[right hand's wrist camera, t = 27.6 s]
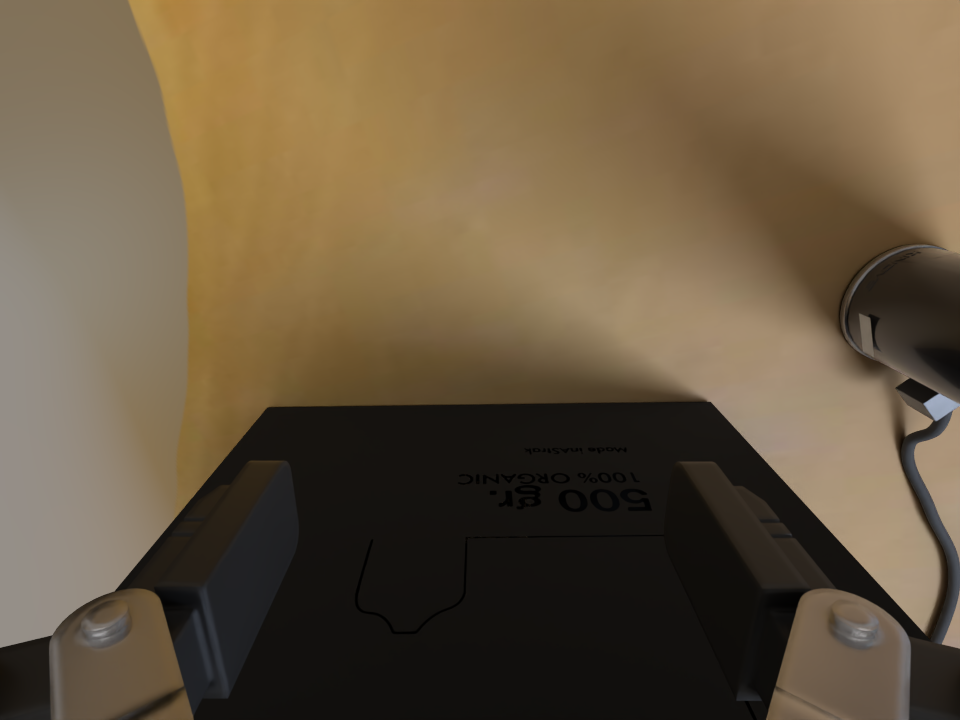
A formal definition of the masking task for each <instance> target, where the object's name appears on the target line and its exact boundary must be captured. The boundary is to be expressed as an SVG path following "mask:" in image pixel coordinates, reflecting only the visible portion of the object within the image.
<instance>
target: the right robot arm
mask: <svg viewBox="0 0 960 720" xmlns="http://www.w3.org/2000/svg"><path fill="white" fill-rule="evenodd" d="M840 323H841V328H842V332H843V334H844V337H845V339H846V340H847V342H848V343H849V344H850V345H851V346H852V347H853V348H854V349H855V350H856V351H858V352H859V353H861V354H863V355H864V356H866V357H868V358H871V359H873V360H876V361H879V362H881V363H882V364H884V365H886V366H888V367H890V368H892V369H894V370H896V371H897V372H899V373H901V374H903V375H905V376H907V377H909V379H908V380H906V381H905V382H903V383H902V384H900V385H899V386H898V387H896V390H897V391H898V393H899V394H900V395H901V397H902V398H903V399H904V401H905V402H906V404H907V405H908V406H910V407H912V408H913V409H915V410H917V411H919V412H920V413H922V414H924V415H925V416H927V417H929V418H930V419H932V420H934V421H933V422H932V424H931V425H930V426H929V427H928V428H926V429H924V430H920V431H917V432H914V433H911V434H909V435H908V436H906V437H905V439H904V441H903V444H902V449H901V460H902V464H903V467H904V470H905V472H906V475H907V477H908V479H909V481H910V483H911V485H912V487H913V489H914V490H915V492H916V494H917V496H918V498H919V500H920V502H921V505H922V507H923V510H924V512H925V515H926V517H927V519H928V521H929V523H930V525H931V527H932V529H933V531H934V533H935V534H936V536H937V538H938V540H939V541H940V543H941V545H942V547H943V550H944V552H945V556H946V559H947V565H948V588H947V594H946V598H945V602H944V605H943V608H942V611H941V614H940V616H939V619H938V622H937V624H936V627H935V629H934V632H933V634H932V636H931V638H930V640H931V641H932V642H929V641H925V640H921V639H917V638H913V637H909V636H908V635H907V634H906V632H905V631H904V629H903V628H902V626H901V625H900V624H899V623H898V622H897V621H896V620H895V619H894V618H893V617H892V616H891V615H890V614H888V613H887V612H886V611H884V610H883V609H882V608H880V607H878V606H877V605H875V604H874V603H872V602H870V601H868V600H866V599H864V598H862V597H859V596H857V595H854V594H851V593H848V592H845V591H841V590H837V589H836V588H835V586H834V585H833V584H832V583H831V582H830V580H829V579H828V578H827V577H826V575H825V574H824V573H823V572H822V570H821V569H820V568H819V567H818V566H817V564H816V563H815V562H814V561H813V559H812V558H811V557H810V556H809V555H808V553H807V552H806V551H805V550H804V548H803V547H802V546H801V545H800V544H799V542H798V541H797V540H796V539H795V538H792V534H791V533H790V531H789V530H788V529H787V528H786V526H785V525H784V524H783V523H780V519H779V518H778V517H777V515H776V514H775V513H774V512H773V510H772V509H771V508H770V507H769V506H768V504H767V503H766V502H765V501H764V500H762V499H761V498H759V497H758V496H756V495H755V494H753V493H752V492H750V491H749V490H748V489H746V488H745V487H743V486H733V485H732V484H731V482H730V481H729V480H728V478H727V477H726V476H725V474H724V473H723V472H722V470H721V469H720V468H719V466H718V465H717V464H716V463H714V462H676V463H675V464H674V466H673V468H672V472H671V479H670V486H669V492H668V499H667V506H666V513H665V520H664V540H665V546H666V550H667V553H668V556H669V558H670V560H671V562H672V564H673V566H674V569H675V571H676V573H677V575H678V577H679V579H680V581H681V584H682V586H683V588H684V590H685V592H686V594H687V596H688V599H689V601H690V603H691V605H692V607H693V609H694V611H695V614H696V616H697V618H698V620H699V622H700V624H701V626H702V629H703V631H704V633H705V635H706V637H707V639H708V641H709V644H710V646H711V648H712V650H713V652H714V654H715V656H716V659H717V661H718V663H719V665H720V667H721V669H722V671H723V674H724V676H725V678H726V680H727V682H728V684H729V686H730V688H731V691H732V693H733V695H734V697H735V699H736V701H763V703H764V705H765V707H766V709H767V711H768V714H767V718H766V720H960V649H959V648H954V647H950V646H946V645H942V642H943V640H944V637H945V635H946V633H947V630H948V628H949V625H950V622H951V620H952V617H953V614H954V611H955V608H956V604H957V601H958V596H959V590H960V563H959V558H958V554H957V551H956V548H955V546H954V544H953V542H952V540H951V538H950V536H949V534H948V533H947V531H946V529H945V527H944V525H943V523H942V521H941V519H940V517H939V515H938V512H937V510H936V507H935V505H934V502H933V500H932V498H931V496H930V494H929V492H928V490H927V488H926V486H925V484H924V482H923V480H922V478H921V476H920V474H919V472H918V470H917V467H916V464H915V460H914V449H915V446H916V444H917V443H919V442H922V441H926V440H930V439H932V438H935V437H937V436H939V435H940V434H941V433H942V432H943V431H944V430H945V428H946V427H947V425H948V423H949V421H950V418H951V415H952V411H953V410H954V409H956V408H957V407H959V406H960V253H957V252H952V251H948V250H946V249H943V248H940V247H936V246H931V245H926V244H911V245H905V246H900V247H897V248H894V249H891V250H889V251H887V252H885V253H883V254H881V255H879V256H878V257H876V258H875V259H873V260H872V261H871V262H869V263H868V264H867V265H866V266H865V267H864V268H863V269H862V270H861V271H860V272H859V273H858V274H857V275H856V277H855V278H854V279H853V281H852V282H851V284H850V285H849V287H848V289H847V291H846V293H845V295H844V298H843V301H842V305H841V311H840ZM298 537H299V520H298V513H297V507H296V500H295V493H294V486H293V479H292V472H291V467H290V465H289V463H288V462H287V461H249V462H247V463H246V464H245V466H244V467H243V468H242V470H241V471H240V472H239V474H238V475H237V476H236V478H235V479H234V480H233V482H232V483H231V484H230V485H220V486H219V487H217V488H216V489H214V490H213V491H211V492H210V493H208V494H207V495H205V496H204V497H202V498H201V499H199V500H198V501H197V503H196V504H195V505H194V506H193V508H192V509H191V510H190V511H189V512H188V514H187V515H186V516H185V517H184V522H180V524H179V525H178V526H177V527H176V529H175V530H174V531H173V532H172V536H171V537H168V538H167V540H166V541H165V542H164V543H163V545H162V546H161V547H160V548H159V550H158V551H157V552H156V553H155V555H154V556H153V557H152V558H151V559H150V561H149V562H148V563H147V564H146V566H145V567H144V568H143V569H142V571H141V572H140V573H139V574H138V576H137V577H136V578H135V579H134V580H133V582H132V583H131V584H130V585H129V587H128V588H127V589H125V590H119V591H115V592H112V593H109V594H106V595H103V596H101V597H98V598H96V599H94V600H92V601H90V602H88V603H86V604H85V605H83V606H82V607H80V608H78V609H77V610H76V611H74V612H73V613H72V614H70V615H69V616H68V617H67V618H66V619H65V620H64V621H63V622H62V623H61V624H60V625H59V627H58V628H57V629H56V631H55V632H54V634H53V635H52V636H48V637H44V638H40V639H35V640H31V641H27V642H23V643H19V644H15V645H10V646H6V647H2V648H0V720H194V718H193V716H194V714H195V712H196V710H197V708H198V706H199V704H200V702H201V700H202V698H227V699H228V697H229V695H230V693H231V691H232V689H233V686H234V684H235V682H236V680H237V678H238V676H239V673H240V671H241V669H242V667H243V665H244V663H245V660H246V658H247V656H248V654H249V652H250V650H251V647H252V645H253V643H254V641H255V639H256V637H257V634H258V632H259V630H260V628H261V626H262V624H263V621H264V619H265V617H266V615H267V613H268V611H269V608H270V606H271V604H272V602H273V600H274V598H275V595H276V593H277V591H278V589H279V587H280V585H281V582H282V580H283V578H284V576H285V574H286V572H287V569H288V567H289V565H290V563H291V561H292V559H293V556H294V554H295V551H296V548H297V544H298Z"/></svg>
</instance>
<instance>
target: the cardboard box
mask: <svg viewBox="0 0 960 720" xmlns="http://www.w3.org/2000/svg"><path fill="white" fill-rule="evenodd" d="M249 461H287V462H288V463H289V465H290V467H291V472H292V479H293V486H294V493H295V500H296V507H297V513H298V520H299V537H298V544H297V548H296V551H295V554H294V556H293V559H292V561H291V563H290V565H289V567H288V569H287V572H286V574H285V576H284V578H283V580H282V582H281V585H280V587H279V589H278V591H277V593H276V595H275V598H274V600H273V602H272V604H271V606H270V608H269V611H268V613H267V615H266V617H265V619H264V621H263V624H262V626H261V628H260V630H259V632H258V634H257V637H256V639H255V641H254V643H253V645H252V647H251V650H250V652H249V654H248V656H247V658H246V660H245V663H244V665H243V667H242V669H241V671H240V673H239V676H238V678H237V680H236V682H235V684H234V686H233V689H232V691H231V693H230V695H229V697H228V699H227V698H202V700H201V702H200V704H199V706H198V708H197V710H196V712H195V714H194V716H193V718H194V720H766V718H767V714H768V711H767V709H766V707H765V705H764V703H763V701H736V699H735V697H734V695H733V693H732V691H731V688H730V686H729V684H728V682H727V680H726V678H725V676H724V674H723V671H722V669H721V667H720V665H719V663H718V661H717V659H716V656H715V654H714V652H713V650H712V648H711V646H710V644H709V641H708V639H707V637H706V635H705V633H704V631H703V629H702V626H701V624H700V622H699V620H698V618H697V616H696V614H695V611H694V609H693V607H692V605H691V603H690V601H689V599H688V596H687V594H686V592H685V590H684V588H683V586H682V584H681V581H680V579H679V577H678V575H677V573H676V571H675V569H674V566H673V564H672V562H671V560H670V558H669V556H668V553H667V550H666V546H665V540H664V520H665V513H666V506H667V499H668V492H669V486H670V479H671V472H672V468H673V466H674V464H675V463H676V462H714V463H716V464H717V465H718V466H719V468H720V469H721V470H722V472H723V473H724V474H725V476H726V477H727V478H728V480H729V481H730V482H731V484H732V485H733V486H743V487H745V488H746V489H748V490H749V491H750V492H752V493H753V494H755V495H756V496H758V497H759V498H761V499H762V500H764V501H765V502H766V503H767V504H768V506H769V507H770V508H771V509H772V510H773V512H774V513H775V514H776V515H777V517H778V518H779V519H780V523H783V524H784V525H785V526H786V528H787V529H788V530H789V531H790V533H791V534H792V538H795V539H796V540H797V541H798V542H799V544H800V545H801V546H802V547H803V548H804V550H805V551H806V552H807V553H808V555H809V556H810V557H811V558H812V559H813V561H814V562H815V563H816V564H817V566H818V567H819V568H820V569H821V570H822V572H823V573H824V574H825V575H826V577H827V578H828V579H829V580H830V582H831V583H832V584H833V585H834V586H835V588H836V589H837V590H841V591H845V592H848V593H851V594H854V595H857V596H859V597H862V598H864V599H866V600H868V601H870V602H872V603H874V604H875V605H877V606H878V607H880V608H882V609H883V610H884V611H886V612H887V613H888V614H890V615H891V616H892V617H893V618H894V619H895V620H896V621H897V622H898V623H899V624H900V625H901V626H902V628H903V629H904V631H905V632H906V634H907V635H908V636H909V637H913V638H917V639H921V640H925V641H929V642H932V641H931V640H930V639H929V638H928V637H927V636H926V635H925V634H924V633H923V632H922V631H921V629H920V628H919V627H918V626H917V625H916V624H915V623H914V622H913V621H912V620H911V619H910V618H909V616H908V615H907V614H906V613H905V612H904V611H903V610H902V609H901V608H900V607H899V606H898V605H897V603H896V602H895V601H894V600H893V599H892V598H891V597H890V596H889V595H888V594H887V593H886V592H885V590H884V589H883V588H882V587H881V586H880V585H879V584H878V583H877V582H876V581H875V580H874V578H873V577H872V576H871V575H870V574H869V573H868V572H867V571H866V570H865V569H864V568H863V567H862V565H861V564H860V563H859V562H858V561H857V560H856V559H855V558H854V557H853V556H852V555H851V554H850V552H849V551H848V550H847V549H846V548H845V547H844V546H843V545H842V544H841V543H840V542H839V541H838V539H837V538H836V537H835V536H834V535H833V534H832V533H831V532H830V531H829V530H828V529H827V528H826V526H825V525H824V524H823V523H822V522H821V521H820V520H819V519H818V518H817V517H816V516H815V515H814V513H813V512H812V511H811V510H810V509H809V508H808V507H807V506H806V505H805V504H804V503H803V502H802V500H801V499H800V498H799V497H798V496H797V495H796V494H795V493H794V492H793V491H792V490H791V489H790V487H789V486H788V485H787V484H786V483H785V482H784V481H783V480H782V479H781V478H780V477H779V476H778V474H777V473H776V472H775V471H774V470H773V469H772V468H771V467H770V466H769V465H768V464H767V463H766V461H765V460H764V459H763V458H762V457H761V456H760V455H759V454H758V453H757V452H756V451H755V450H754V448H753V447H752V446H751V445H750V444H749V443H748V442H747V441H746V440H745V439H744V438H743V437H742V435H741V434H740V433H739V432H738V431H737V430H736V429H735V428H734V427H733V426H732V425H731V424H730V422H729V421H728V420H727V419H726V418H725V417H724V416H723V415H722V414H721V413H720V412H719V411H718V409H717V408H716V407H715V406H714V405H713V404H712V403H711V402H665V403H585V404H506V405H427V406H347V407H268V408H267V409H266V410H265V411H264V412H263V414H262V415H261V416H260V417H259V418H258V420H257V421H256V422H255V423H254V424H253V426H252V427H251V428H250V429H249V430H248V432H247V433H246V434H245V435H244V436H243V438H242V439H241V440H240V441H239V442H238V444H237V445H236V446H235V447H234V448H233V450H232V451H231V452H230V453H229V454H228V456H227V457H226V458H225V459H224V460H223V462H222V463H221V464H220V465H219V466H218V468H217V469H216V470H215V471H214V472H213V474H212V475H211V476H210V477H209V478H208V480H207V481H206V482H205V483H204V484H203V486H202V487H201V488H200V489H199V491H198V492H197V493H196V494H195V495H194V497H193V498H192V499H191V500H190V501H189V503H188V504H187V505H186V506H185V507H184V509H183V510H182V511H181V512H180V513H179V515H178V516H177V517H176V518H175V519H174V521H173V522H172V523H171V524H170V525H169V527H168V528H167V529H166V530H165V531H164V533H163V534H162V535H161V536H160V537H159V539H158V540H157V541H156V542H155V544H154V545H153V546H152V547H151V548H150V549H149V551H148V552H147V553H146V554H145V555H144V557H143V558H142V559H141V560H140V562H139V563H138V564H137V565H136V566H135V567H134V569H133V570H132V571H131V572H130V573H129V575H128V576H127V577H126V578H125V579H124V581H123V582H122V583H121V584H120V586H119V587H118V588H117V589H116V590H115V591H119V590H125V589H127V588H128V587H129V585H130V584H131V583H132V582H133V580H134V579H135V578H136V577H137V576H138V574H139V573H140V572H141V571H142V569H143V568H144V567H145V566H146V564H147V563H148V562H149V561H150V559H151V558H152V557H153V556H154V555H155V553H156V552H157V551H158V550H159V548H160V547H161V546H162V545H163V543H164V542H165V541H166V540H167V538H168V537H171V536H172V532H173V531H174V530H175V529H176V527H177V526H178V525H179V524H180V522H184V517H185V516H186V515H187V514H188V512H189V511H190V510H191V509H192V508H193V506H194V505H195V504H196V503H197V501H198V500H199V499H201V498H202V497H204V496H205V495H207V494H208V493H210V492H211V491H213V490H214V489H216V488H217V487H219V486H220V485H230V484H231V483H232V482H233V480H234V479H235V478H236V476H237V475H238V474H239V472H240V471H241V470H242V468H243V467H244V466H245V464H246V463H247V462H249ZM465 474H467V476H465ZM496 474H498V475H497V476H496ZM500 474H501V475H500ZM503 474H504V476H505V478H503ZM468 475H471V476H472V477H473V478H472V479H470V478H471V476H470V478H469V477H468ZM476 476H477V477H478V478H480V479H477V478H476ZM487 476H488V477H489V478H487ZM507 476H509V477H514V478H512V479H510V478H507ZM476 482H480V483H477V484H476ZM465 484H466V485H465ZM520 498H521V500H520ZM523 498H526V500H525V502H526V507H525V508H523V507H524V499H523ZM530 498H533V499H530ZM508 499H510V507H509V502H508V503H507V504H506V505H505V506H503V507H501V503H502V505H504V503H505V502H506V501H507V500H508ZM519 502H520V504H519ZM529 504H531V507H528V506H529ZM520 506H521V508H516V507H520ZM517 536H527V537H528V538H518V537H517ZM466 537H475V538H468V539H467V543H465V539H466ZM478 537H496V538H478ZM500 537H509V538H500Z"/></svg>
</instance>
